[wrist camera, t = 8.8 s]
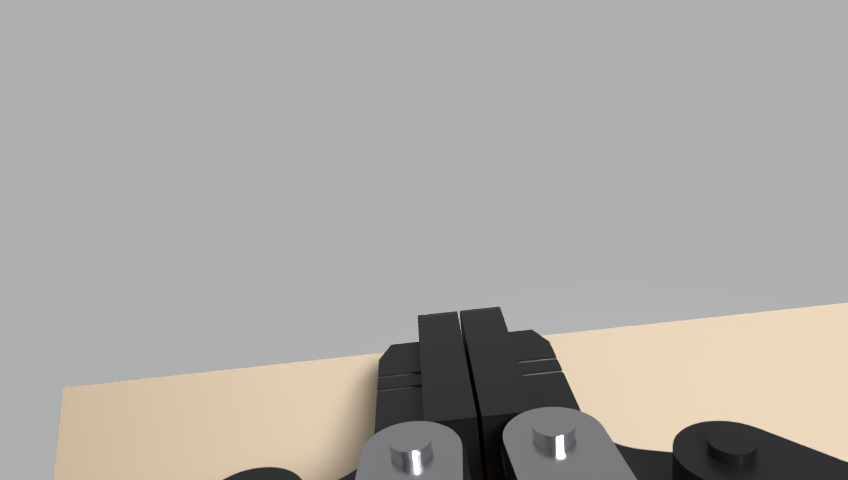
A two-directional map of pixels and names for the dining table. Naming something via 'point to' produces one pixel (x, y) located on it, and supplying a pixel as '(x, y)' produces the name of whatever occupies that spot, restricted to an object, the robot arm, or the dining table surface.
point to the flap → (357, 393)
